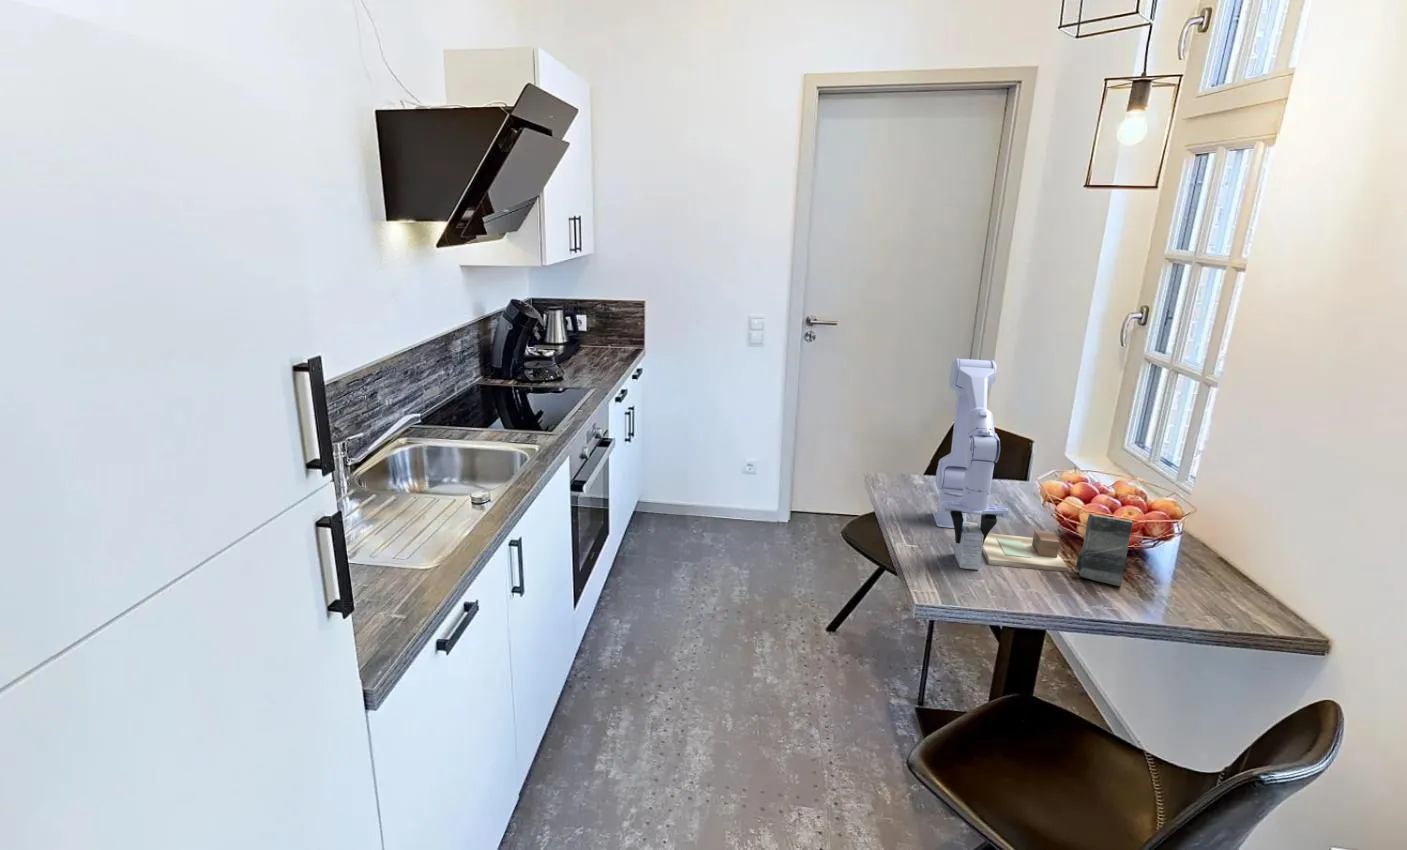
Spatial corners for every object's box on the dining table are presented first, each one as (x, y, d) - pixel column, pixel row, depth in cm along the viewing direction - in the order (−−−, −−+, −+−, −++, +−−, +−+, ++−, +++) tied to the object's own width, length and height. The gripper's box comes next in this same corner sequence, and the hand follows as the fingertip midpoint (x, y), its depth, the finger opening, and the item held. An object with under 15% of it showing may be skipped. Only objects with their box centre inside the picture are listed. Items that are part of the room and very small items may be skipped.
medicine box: (979, 570, 156) (984, 535, 154) (958, 568, 157) (963, 533, 155) (972, 556, 164) (977, 522, 162) (953, 554, 165) (957, 520, 163)
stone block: (1074, 573, 157) (1074, 576, 153) (1086, 511, 157) (1086, 512, 153) (1120, 584, 153) (1120, 587, 148) (1131, 520, 153) (1133, 521, 148)
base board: (975, 537, 175) (976, 531, 175) (1046, 544, 172) (1047, 538, 172) (988, 565, 160) (989, 558, 159) (1067, 573, 157) (1068, 566, 156)
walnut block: (1031, 545, 168) (1034, 530, 167) (1049, 547, 167) (1052, 531, 166) (1038, 555, 162) (1041, 540, 161) (1056, 557, 161) (1059, 542, 160)
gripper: (946, 490, 153) (938, 546, 157) (1015, 496, 151) (1005, 553, 154) (941, 480, 160) (934, 534, 164) (1007, 486, 158) (998, 540, 161)
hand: (968, 542), depth 159 cm, fingers closed on medicine box, 4 cm apart
